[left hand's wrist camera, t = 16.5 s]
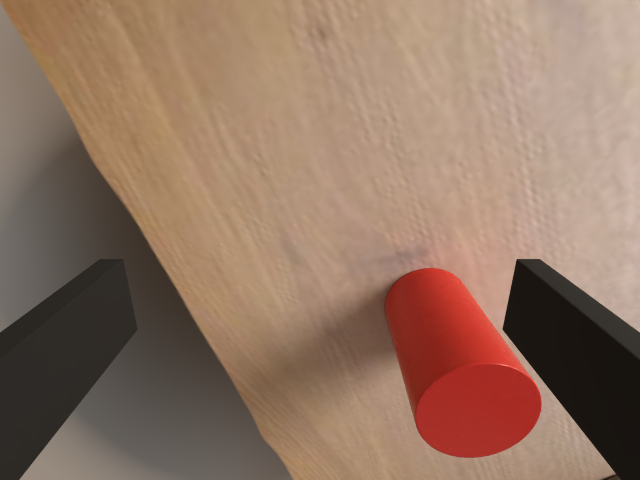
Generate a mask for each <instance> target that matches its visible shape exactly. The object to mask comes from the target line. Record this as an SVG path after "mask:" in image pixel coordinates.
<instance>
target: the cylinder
mask: <svg viewBox="0 0 640 480" xmlns="http://www.w3.org/2000/svg"><path fill="white" fill-rule="evenodd" d="M385 315H386V319H387V322H388V326H389V329H390V333H391V337H392V340H393V344H394V347H395V351H396V355H397V358H398V362H399V366H400V369H401V373H402V376H403V380H404V384H405V387H406V391H407V394H408V398H409V402H410V405H411V409H412V412H413V416H414V420H415V423H416V427H417V429H418V432H419V434H420V435H421V437H422V438H423V439H424V440H425V441H426V442H427V443H428V444H429V445H430V446H431V447H433V448H434V449H436V450H438V451H440V452H442V453H445V454H448V455H451V456H456V457H465V458H474V457H483V456H488V455H492V454H496V453H499V452H501V451H504V450H506V449H508V448H510V447H512V446H513V445H515V444H517V443H518V442H519V441H521V440H522V439H523V438H524V437H525V436H526V435H527V434H529V432H530V431H531V430H532V429H533V427H534V426H535V424H536V422H537V420H538V418H539V416H540V412H541V404H542V403H541V395H540V392H539V389H538V387H537V385H536V384H535V382H534V381H533V380H532V378H531V377H530V375H529V374H528V373H527V371H526V370H525V369H524V367H523V366H522V364H521V363H520V362H519V360H518V359H517V358H516V356H515V355H514V353H513V352H512V351H511V349H510V348H509V346H508V345H507V344H506V342H505V341H504V340H503V338H502V337H501V335H500V334H499V333H498V331H497V330H496V329H495V327H494V326H493V324H492V323H491V322H490V320H489V319H488V317H487V316H486V315H485V313H484V312H483V311H482V309H481V308H480V306H479V305H478V304H477V302H476V301H475V299H474V298H473V297H472V295H471V294H470V293H469V291H468V290H467V288H466V287H465V286H464V284H463V283H462V282H461V280H460V279H459V278H457V277H456V276H455V275H453V274H452V273H450V272H447V271H445V270H441V269H434V268H426V269H420V270H416V271H413V272H410V273H409V274H407V275H405V276H403V277H402V278H400V279H399V280H398V281H397V282H396V283H395V284H394V285H393V286H392V288H391V289H390V291H389V293H388V295H387V297H386V301H385Z"/></svg>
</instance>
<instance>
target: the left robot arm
mask: <svg viewBox="0 0 640 480" xmlns="http://www.w3.org/2000/svg"><path fill="white" fill-rule="evenodd" d="M136 331H137V325H136V320H135V315H134V310H133V305H132V300H131V295H130V290H129V285H128V280H127V275H126V271H125V266H124V261H123V259H100V260H98V261H97V262H96V263H94V264H93V265H92V266H90V267H89V268H88V269H86V270H85V271H83V272H82V273H81V274H79V275H78V276H77V277H75V278H74V279H73V280H71V281H70V282H68V283H67V284H66V285H64V286H63V287H62V288H60V289H59V290H58V291H56V292H55V293H53V294H52V295H51V296H49V297H48V298H47V299H45V300H44V301H43V302H41V303H40V304H39V305H37V306H36V307H34V308H33V309H32V310H30V311H29V312H28V313H26V314H25V315H24V316H22V317H21V318H20V319H18V320H17V321H15V322H14V323H13V324H11V325H10V326H9V327H7V328H6V329H4V330H3V331H2V332H0V480H19V479H20V478H21V477H22V475H23V474H24V473H25V472H26V470H27V469H28V468H29V467H30V465H31V464H32V463H33V461H34V460H35V459H36V458H37V456H38V455H39V454H40V453H41V451H42V450H43V449H44V447H45V446H46V445H47V444H48V442H49V441H50V440H51V439H52V437H53V436H54V435H55V434H56V432H57V431H58V430H59V428H60V427H61V426H62V425H63V423H64V422H65V421H66V420H67V418H68V417H69V416H70V414H71V413H72V412H73V411H74V409H75V408H76V407H77V406H78V404H79V403H80V402H81V400H82V399H83V398H84V397H85V395H86V394H87V393H88V392H89V390H90V389H91V388H92V387H93V385H94V384H95V383H96V381H97V380H98V379H99V378H100V376H101V375H102V374H103V373H104V371H105V370H106V369H107V368H108V366H109V365H110V364H111V362H112V361H113V360H114V359H115V357H116V356H117V355H118V354H119V352H120V351H121V350H122V348H123V347H124V346H125V345H126V343H127V342H128V341H129V340H130V338H131V337H132V336H133V334H134V333H135V332H136ZM503 331H504V332H505V333H506V334H507V336H508V337H509V338H510V340H511V341H512V342H513V343H514V345H515V346H516V347H517V348H518V350H519V351H520V352H521V354H522V355H523V356H524V357H525V359H526V360H527V361H528V362H529V364H530V365H531V366H532V368H533V369H534V370H535V371H536V373H537V374H538V375H539V376H540V378H541V379H542V380H543V381H544V383H545V384H546V385H547V387H548V388H549V389H550V390H551V392H552V393H553V394H554V395H555V397H556V398H557V399H558V401H559V402H560V403H561V404H562V406H563V407H564V408H565V409H566V411H567V412H568V413H569V414H570V416H571V417H572V418H573V420H574V421H575V422H576V423H577V425H578V426H579V427H580V428H581V430H582V431H583V432H584V434H585V435H586V436H587V437H588V439H589V440H590V441H591V442H592V444H593V445H594V446H595V448H596V449H597V450H598V451H599V453H600V454H601V455H602V456H603V458H604V459H605V460H606V461H607V463H608V464H609V465H610V467H611V468H612V469H613V470H614V472H615V473H616V474H617V475H618V477H619V478H620V479H621V480H640V332H638V331H637V330H636V329H634V328H633V327H631V326H630V325H629V324H627V323H626V322H625V321H623V320H622V319H621V318H619V317H618V316H616V315H615V314H614V313H612V312H611V311H610V310H608V309H607V308H606V307H604V306H603V305H601V304H600V303H599V302H597V301H596V300H595V299H593V298H592V297H591V296H589V295H588V294H587V293H585V292H584V291H582V290H581V289H580V288H578V287H577V286H576V285H574V284H573V283H572V282H570V281H569V280H567V279H566V278H565V277H563V276H562V275H561V274H559V273H558V272H557V271H555V270H554V269H552V268H551V267H550V266H548V265H547V264H546V263H544V262H543V261H542V260H540V259H517V261H516V266H515V271H514V275H513V280H512V285H511V290H510V295H509V300H508V305H507V310H506V315H505V320H504V325H503Z"/></svg>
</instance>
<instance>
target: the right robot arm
mask: <svg viewBox="0 0 640 480" xmlns="http://www.w3.org/2000/svg"><path fill="white" fill-rule="evenodd" d="M607 480H621V479H620V478H619V477H618V476H615V477H612V478H610V479H607Z"/></svg>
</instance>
